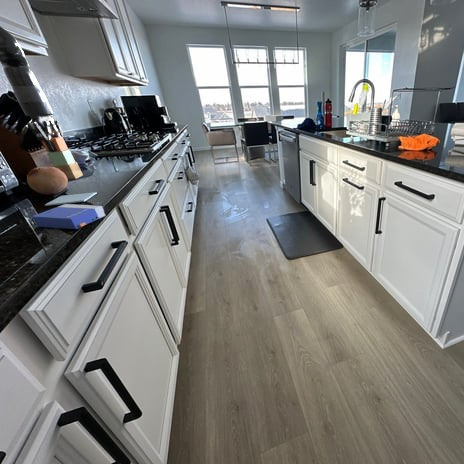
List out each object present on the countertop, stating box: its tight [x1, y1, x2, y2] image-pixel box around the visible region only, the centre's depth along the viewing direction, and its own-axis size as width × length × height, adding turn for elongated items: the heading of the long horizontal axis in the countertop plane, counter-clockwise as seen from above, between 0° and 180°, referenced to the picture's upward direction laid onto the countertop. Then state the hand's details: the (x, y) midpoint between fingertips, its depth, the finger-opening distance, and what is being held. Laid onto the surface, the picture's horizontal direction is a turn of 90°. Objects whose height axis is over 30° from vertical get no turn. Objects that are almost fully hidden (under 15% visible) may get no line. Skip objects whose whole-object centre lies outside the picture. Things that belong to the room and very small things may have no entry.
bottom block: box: [51, 161, 84, 181], centre depth 101 cm, size 6×6×6 cm
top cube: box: [40, 136, 69, 153], centre depth 96 cm, size 5×5×5 cm
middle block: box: [46, 149, 76, 166], centre depth 98 cm, size 5×5×5 cm
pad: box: [44, 191, 98, 207], centre depth 78 cm, size 10×8×1 cm
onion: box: [26, 166, 69, 196], centre depth 82 cm, size 10×9×10 cm
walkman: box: [31, 203, 106, 230], centre depth 62 cm, size 8×3×12 cm
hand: (57, 150), depth 97 cm, fingers closed on top cube, 4 cm apart
